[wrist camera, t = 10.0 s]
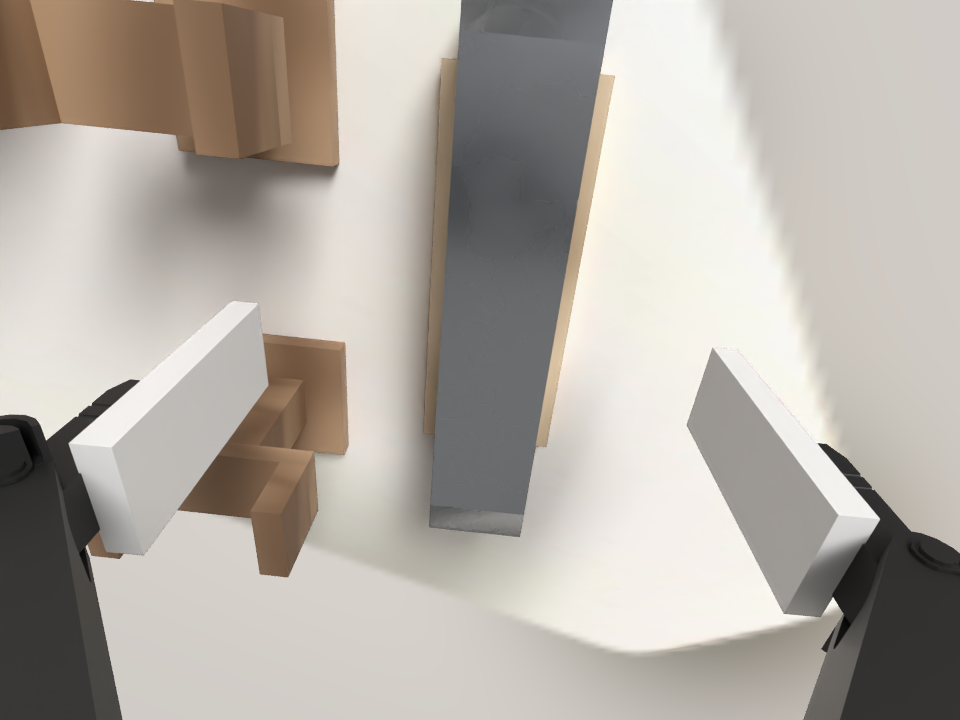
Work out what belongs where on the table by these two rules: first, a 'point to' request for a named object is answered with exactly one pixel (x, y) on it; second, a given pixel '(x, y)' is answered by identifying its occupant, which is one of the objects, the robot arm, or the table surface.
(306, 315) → the table surface
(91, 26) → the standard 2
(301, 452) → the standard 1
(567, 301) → the light wooden board
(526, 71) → the rail
